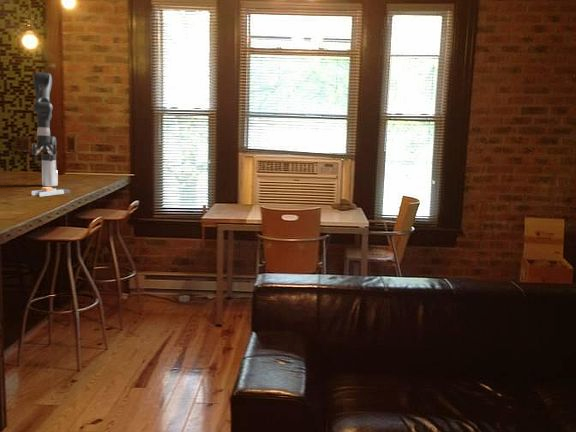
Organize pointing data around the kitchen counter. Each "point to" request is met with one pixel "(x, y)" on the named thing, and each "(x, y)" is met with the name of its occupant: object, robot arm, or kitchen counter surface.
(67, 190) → the tray
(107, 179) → the kitchen counter surface
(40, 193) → the channel
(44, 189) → the block
